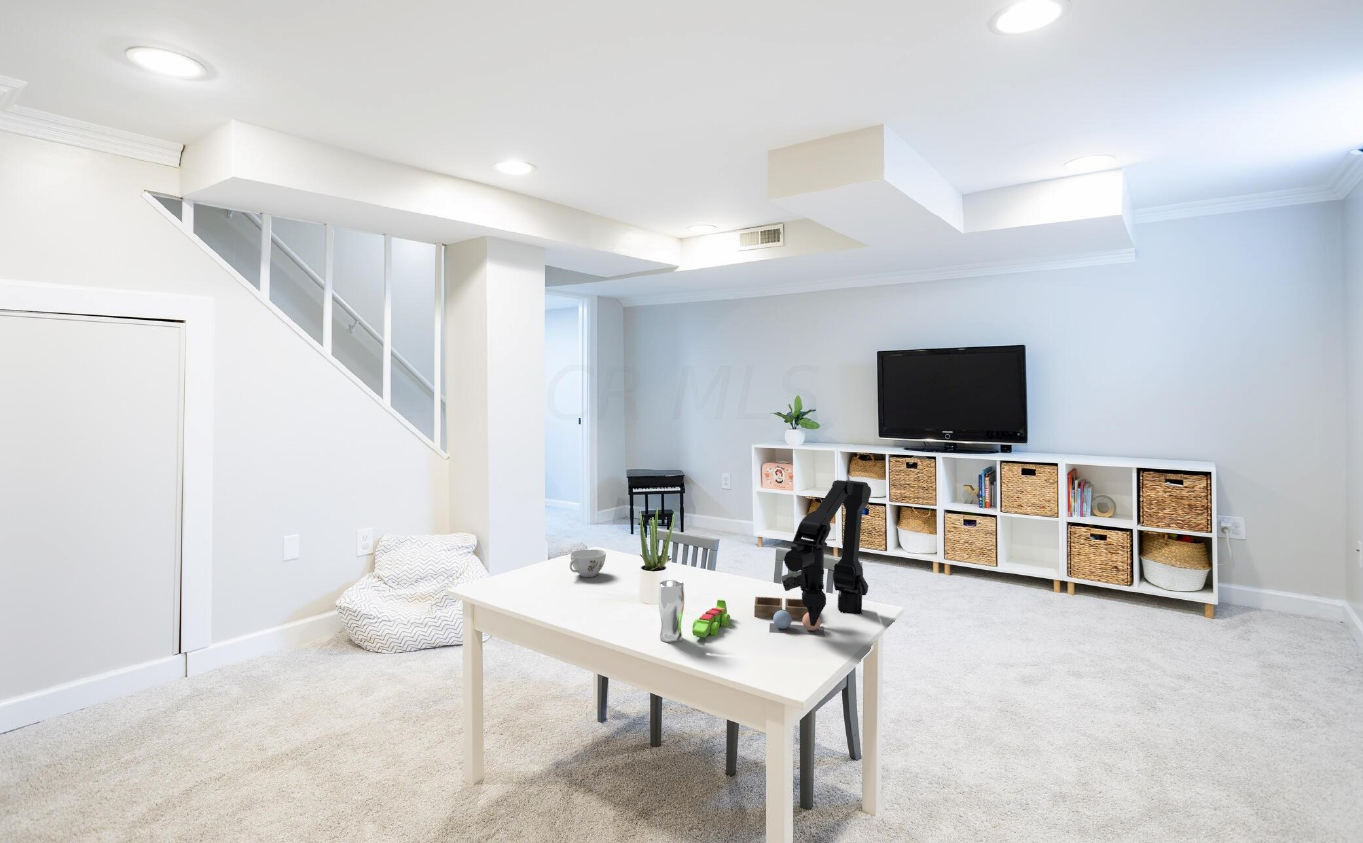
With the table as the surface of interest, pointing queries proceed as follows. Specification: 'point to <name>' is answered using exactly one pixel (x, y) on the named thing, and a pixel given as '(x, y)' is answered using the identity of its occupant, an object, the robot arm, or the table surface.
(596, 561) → the teacup
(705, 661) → the table surface
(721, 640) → the table surface
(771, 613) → the open wooden crate
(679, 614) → the beer glass
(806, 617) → the ball terracotta
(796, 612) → the wooden cubby box
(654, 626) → the table surface
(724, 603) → the toy crocodile
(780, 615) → the ball slate
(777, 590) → the table surface
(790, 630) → the mat
